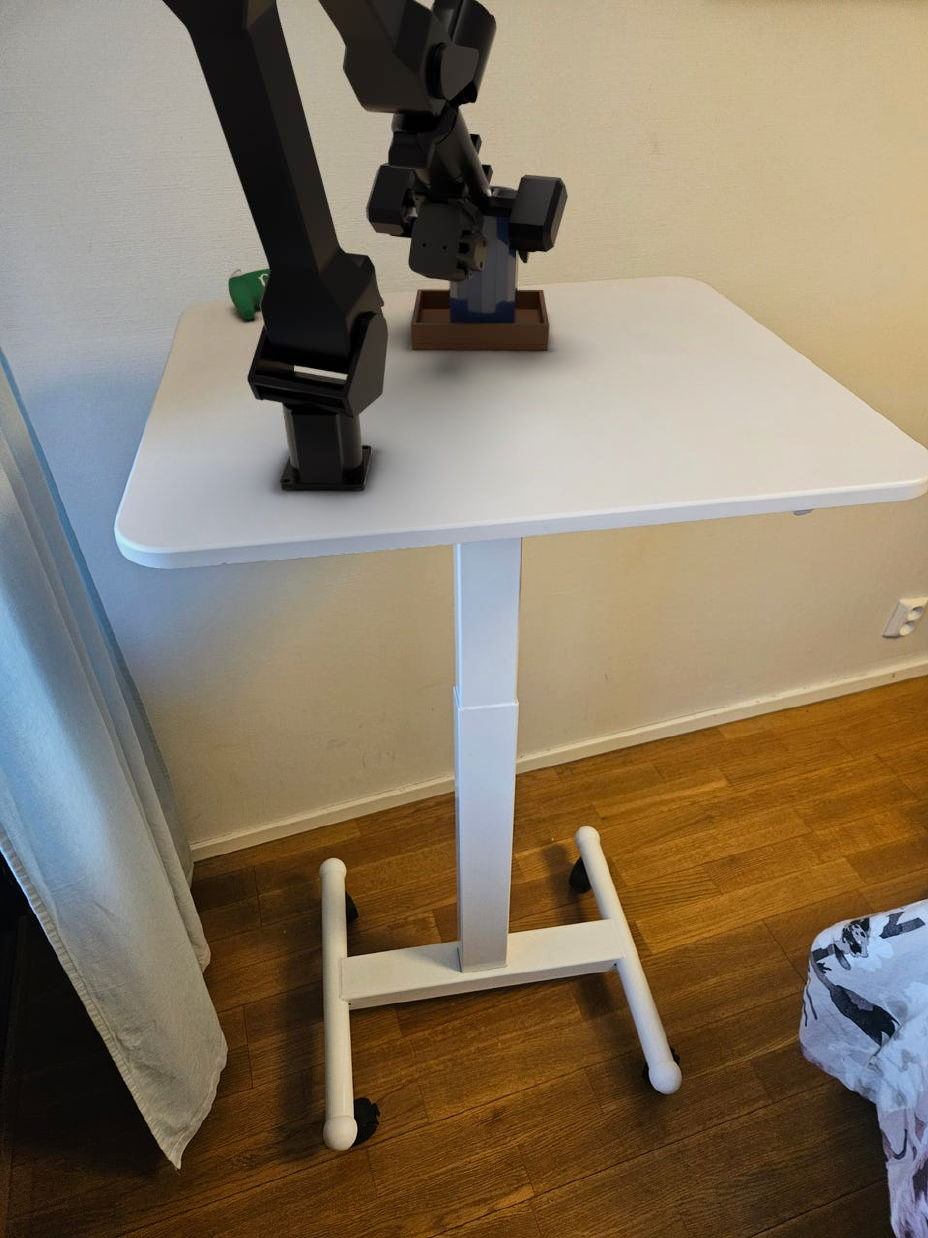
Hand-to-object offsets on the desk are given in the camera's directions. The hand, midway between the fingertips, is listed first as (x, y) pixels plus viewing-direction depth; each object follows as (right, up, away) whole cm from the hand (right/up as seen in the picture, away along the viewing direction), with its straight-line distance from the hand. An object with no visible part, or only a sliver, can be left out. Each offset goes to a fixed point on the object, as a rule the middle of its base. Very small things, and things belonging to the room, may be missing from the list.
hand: (486, 254), depth 88 cm
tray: (-1, -7, +4) cm, 8 cm away
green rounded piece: (-24, -2, +10) cm, 26 cm away
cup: (0, -6, +3) cm, 7 cm away
